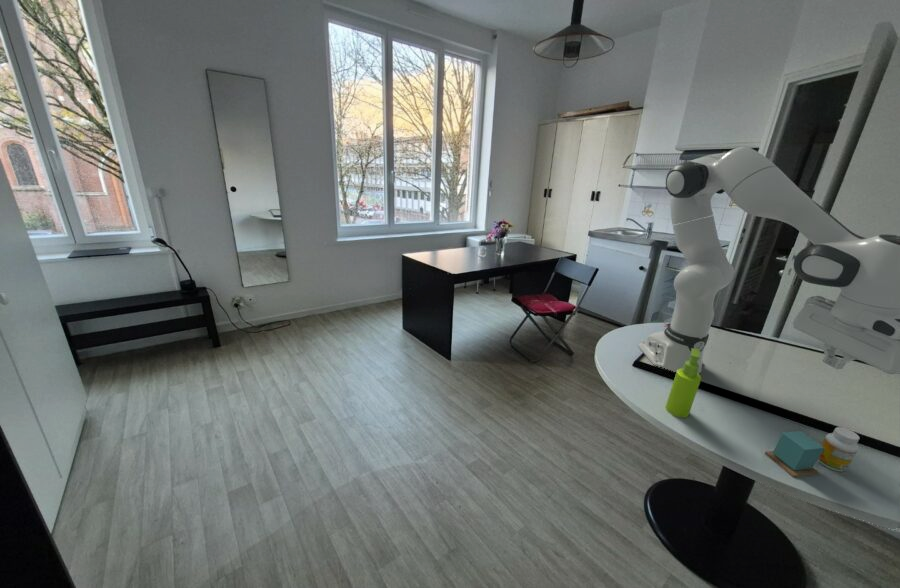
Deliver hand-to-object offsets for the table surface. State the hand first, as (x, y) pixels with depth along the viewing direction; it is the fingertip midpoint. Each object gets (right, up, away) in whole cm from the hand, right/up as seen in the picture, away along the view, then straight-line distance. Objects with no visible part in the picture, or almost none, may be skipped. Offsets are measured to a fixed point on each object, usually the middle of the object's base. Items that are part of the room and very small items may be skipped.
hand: (831, 365), depth 78 cm
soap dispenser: (-20, -19, +24) cm, 36 cm away
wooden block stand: (-3, -26, +6) cm, 27 cm away
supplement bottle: (+7, -26, +6) cm, 27 cm away
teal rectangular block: (-3, -25, +6) cm, 26 cm away
